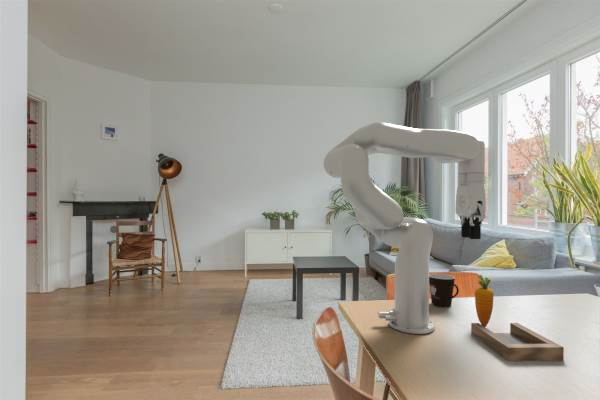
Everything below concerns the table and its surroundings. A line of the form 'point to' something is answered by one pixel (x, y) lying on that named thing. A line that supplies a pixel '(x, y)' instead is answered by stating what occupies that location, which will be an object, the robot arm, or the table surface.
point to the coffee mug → (442, 289)
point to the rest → (519, 343)
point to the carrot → (484, 301)
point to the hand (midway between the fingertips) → (470, 237)
